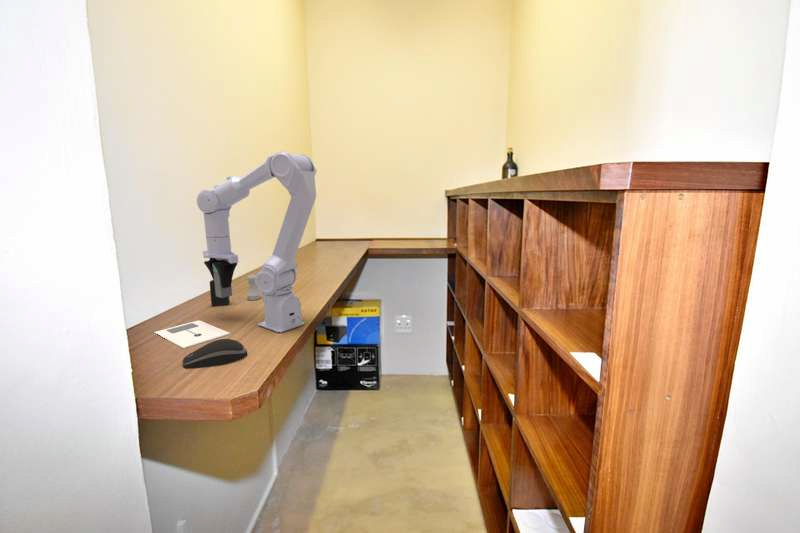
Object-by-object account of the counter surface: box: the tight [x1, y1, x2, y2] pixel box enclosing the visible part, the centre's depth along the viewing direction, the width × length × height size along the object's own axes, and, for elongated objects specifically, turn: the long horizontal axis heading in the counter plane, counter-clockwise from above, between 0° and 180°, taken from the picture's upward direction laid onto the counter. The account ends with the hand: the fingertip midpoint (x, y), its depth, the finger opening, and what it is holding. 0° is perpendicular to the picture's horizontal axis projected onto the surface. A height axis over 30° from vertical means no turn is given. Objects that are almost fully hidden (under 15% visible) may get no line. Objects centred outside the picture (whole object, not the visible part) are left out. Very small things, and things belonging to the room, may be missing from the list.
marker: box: [212, 264, 233, 298], centre depth 103 cm, size 3×3×9 cm
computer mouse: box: [181, 338, 248, 370], centre depth 80 cm, size 7×12×4 cm, turn 116°
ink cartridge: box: [209, 279, 231, 307], centre depth 117 cm, size 5×2×8 cm, turn 106°
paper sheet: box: [153, 319, 231, 350], centre depth 94 cm, size 16×11×1 cm
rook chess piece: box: [246, 273, 262, 301], centre depth 124 cm, size 4×4×8 cm
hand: (223, 286), depth 103 cm, fingers closed on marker, 3 cm apart
